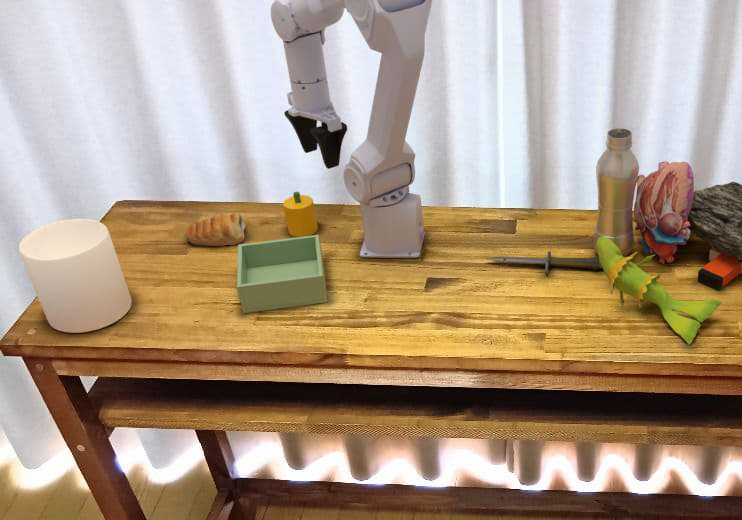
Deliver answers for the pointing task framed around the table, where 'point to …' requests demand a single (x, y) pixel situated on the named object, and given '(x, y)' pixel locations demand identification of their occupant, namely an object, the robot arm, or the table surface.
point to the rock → (718, 218)
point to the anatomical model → (664, 208)
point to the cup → (76, 275)
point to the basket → (281, 274)
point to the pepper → (300, 215)
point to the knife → (553, 261)
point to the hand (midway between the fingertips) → (321, 158)
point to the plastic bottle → (616, 191)
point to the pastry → (217, 230)
